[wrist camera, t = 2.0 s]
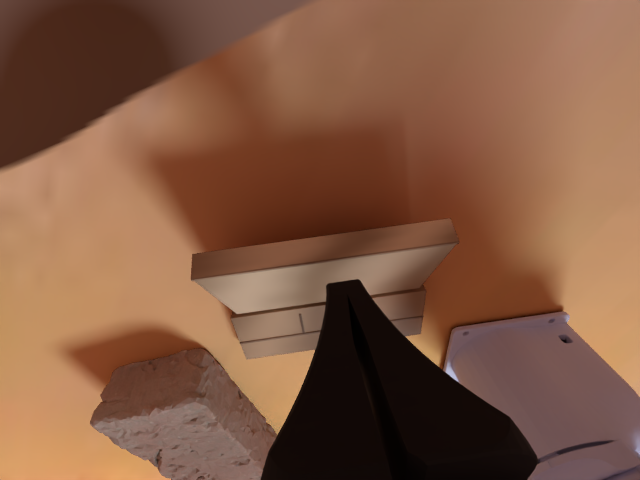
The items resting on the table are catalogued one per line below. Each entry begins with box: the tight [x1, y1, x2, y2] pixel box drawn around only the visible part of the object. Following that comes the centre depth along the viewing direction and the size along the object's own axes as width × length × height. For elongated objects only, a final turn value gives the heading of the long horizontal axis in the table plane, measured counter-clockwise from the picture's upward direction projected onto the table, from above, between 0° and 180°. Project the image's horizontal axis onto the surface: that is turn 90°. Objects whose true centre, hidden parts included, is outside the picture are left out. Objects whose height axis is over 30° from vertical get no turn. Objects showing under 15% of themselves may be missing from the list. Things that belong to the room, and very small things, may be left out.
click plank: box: [191, 218, 459, 314], centre depth 17 cm, size 12×7×1 cm, turn 96°
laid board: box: [231, 284, 426, 359], centre depth 21 cm, size 13×4×1 cm, turn 96°
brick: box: [90, 348, 277, 480], centre depth 26 cm, size 17×8×5 cm, turn 16°
